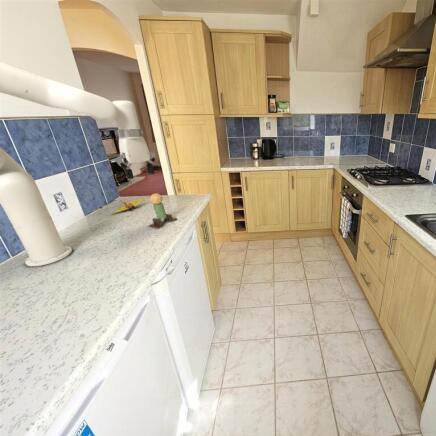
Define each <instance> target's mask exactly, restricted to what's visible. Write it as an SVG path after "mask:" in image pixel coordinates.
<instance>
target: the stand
mask: <svg viewBox="0 0 436 436" xmlns="http://www.w3.org/2000/svg"><path fill="white" fill-rule="evenodd" d="M166 216H167V217H166V218H164V219H163V220H164V221H167V222H175V221H178V218H176V217H173V215H172V214H170V213H166ZM148 226H149V227H150V228H155V229H160V228H163V221H162V219H158V218H157V217H154V218H152V223H151V224H149V225H148Z"/></svg>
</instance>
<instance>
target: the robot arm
mask: <svg viewBox="0 0 436 436" xmlns="http://www.w3.org/2000/svg"><path fill="white" fill-rule="evenodd" d="M1 93H2V94H5V95H9V96H12V97H15V98H19V99H23V100H25V101H28V102H32V103H36V104H38V105H42V106H45V107H49V108H52V109H62V110H65V111H66V110H67V111H71V112H74V113H79V114H82V115H85V116H88V117H90V118H92V119H93V120H96V121H98V122H112V121H115V122H116V126H117V130H118V134H119V138H118V149H119V153H120V155H119V156H117V157H116V158H115V159H114V162H116V163H117V165H118V166H119V167H121V169H123V170H124V172H125V175H126V178H127V179H131V180H133V179H135V177H134V173H133V169H132V168H131V167H132V165H134V164H138V163H139V164H140V163H144V162H145V163H146V165H145V166H146V169H147V173H148V174H151V175H154V174H155V168H154V164H155V163H154V162H155V161H156V155H157V154H156V153H155V152H152V151H150V150H149V147H148V144H147V142H146V140H145V137H143V136H142V135H143V134H144V130H141V126H140V123H139V118H138V115H137V110H136V106H135V104H134V102H132V101H131V100H113V101H111V100H109V99H107V98H106V97H103V96H100V95H98V94H95V93H92V92H89V91H86V90H83V89H81V88H77V87H74V86H71V85H67V84H65V83H63V82H60V81H56V80H53V79H51V78H47V77H44V76H42V75H39V74H37V73H33V72H30V71H28V70H25V69H22V68H19V67H16V66H15V65H12V64H8V63H6V62H3V61H1V60H0V94H1ZM0 206H1V208H2V209H3V211H4V212H5V214H6V216H7V218H8V220H9V222H10V223H11V226H12V227H13V230H14V231H15V233H16V234H17V237H18V238H19V241H20V242H21V244H22V246H23V248H24V250H25V252H26V253H27V255H28V257H26V258H25V260H24V263H25V265H26V266H27V267H41V266H46V265H51V264H53V263H56V262H59V261H61V260H63V259H65V258H67V257H68V256H70V254H72V252H73V249H72V247H71V246H68V245H64V243H63V240H62V238H61V236H60V234H59V231H58V229H57V227H56V225H55V223H54V220H53V218H52V216H51V214H50V212H49V210H48V208H47V206H46V203H45V201H44V199H43V195H42V194H41V191H40V189H39V186H38V184H37V182H36V181H35V179H34V178H33V176H32V175H31V174H30V173H29V172H28V171H27V170H26V169H25V168H24V167H22V166H21V165H20V164H19V163H18V162H17V161H16V160H15V159H14V158H13V157H12V156H11V155H9V153H7V152H6V151H5V150H4V149H3V148H2V147H1V146H0Z"/></svg>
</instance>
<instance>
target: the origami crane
mask: <svg viewBox="0 0 436 436" xmlns="http://www.w3.org/2000/svg"><path fill="white" fill-rule="evenodd" d="M118 200H119V201H120V202H121V203H122V205H124V206H121V207H120V208H119V209H118V210H115V211H114V212H113V213H112V215H115V214H117V213H121V212H124V211H127V210H134V209H135V207H136V206H138V205H139V204H140V203H142V202H143V200H145V198H139V199H135V200H133V201H131V202H128V203H127V202H126V201H123V199H121V198H119V199H118Z"/></svg>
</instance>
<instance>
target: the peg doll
mask: <svg viewBox="0 0 436 436" xmlns="http://www.w3.org/2000/svg"><path fill="white" fill-rule="evenodd" d="M149 202H150V203H151V204H152V207H153V209H154V212H155V215H156V218H157V219H161V220H164V218H166V217H167V216H166V214H167V212H166V210H165V207H164V203H163V196H162V195H161V194H160V193H157V192H156V193H152V194H151V195H150V196H149Z"/></svg>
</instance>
